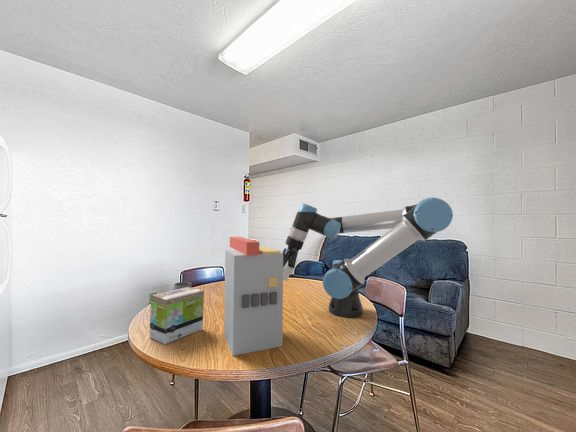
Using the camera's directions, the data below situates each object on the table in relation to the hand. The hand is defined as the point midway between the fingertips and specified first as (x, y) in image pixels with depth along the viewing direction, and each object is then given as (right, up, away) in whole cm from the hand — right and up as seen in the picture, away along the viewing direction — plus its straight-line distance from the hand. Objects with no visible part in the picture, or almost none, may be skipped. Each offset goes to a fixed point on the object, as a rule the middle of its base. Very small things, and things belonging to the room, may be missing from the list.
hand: (278, 282), depth 113 cm
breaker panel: (-8, -13, -26) cm, 30 cm away
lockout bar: (-12, +17, -21) cm, 30 cm away
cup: (-47, -13, +10) cm, 50 cm away
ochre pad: (-4, +17, -23) cm, 29 cm away
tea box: (-36, -13, -21) cm, 43 cm away
